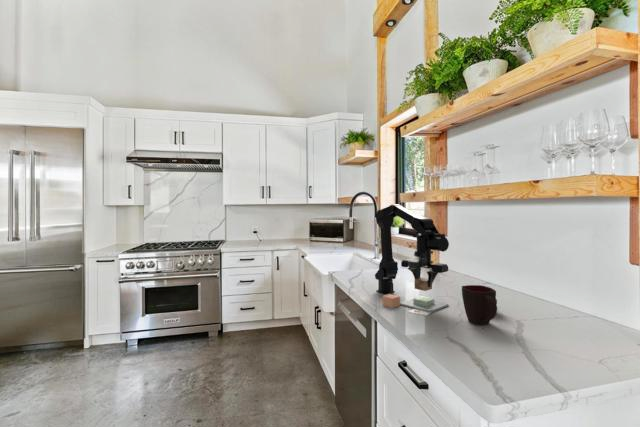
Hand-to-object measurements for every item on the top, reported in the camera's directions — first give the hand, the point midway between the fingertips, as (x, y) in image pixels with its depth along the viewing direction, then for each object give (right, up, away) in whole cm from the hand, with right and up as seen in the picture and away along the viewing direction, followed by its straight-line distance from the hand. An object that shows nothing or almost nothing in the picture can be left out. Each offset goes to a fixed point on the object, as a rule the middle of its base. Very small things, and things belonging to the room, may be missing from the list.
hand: (423, 286), depth 133 cm
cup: (+13, -9, -22) cm, 27 cm away
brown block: (0, -1, 0) cm, 1 cm away
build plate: (0, -8, 0) cm, 8 cm away
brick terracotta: (-13, -8, +1) cm, 16 cm away
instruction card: (-4, -8, -9) cm, 13 cm away
